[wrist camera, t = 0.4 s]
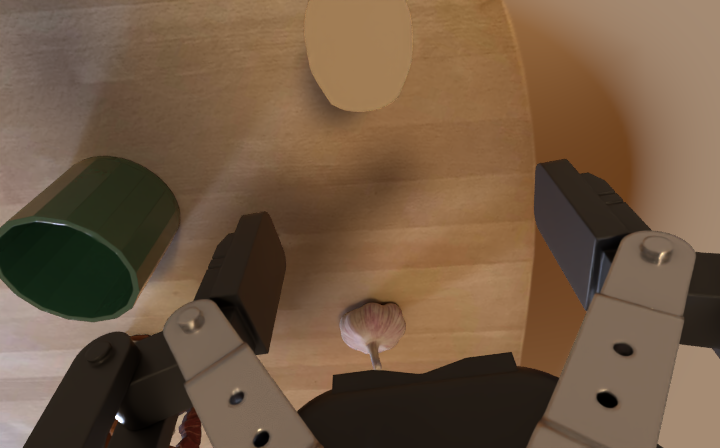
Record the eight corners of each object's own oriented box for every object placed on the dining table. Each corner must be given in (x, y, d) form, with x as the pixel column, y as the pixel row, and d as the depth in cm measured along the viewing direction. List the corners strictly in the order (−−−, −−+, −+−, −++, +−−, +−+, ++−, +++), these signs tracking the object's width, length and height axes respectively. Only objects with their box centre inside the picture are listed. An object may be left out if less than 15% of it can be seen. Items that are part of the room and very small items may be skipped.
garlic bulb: (409, 295, 49) (416, 352, 43) (397, 337, 53) (402, 395, 47) (343, 288, 49) (341, 345, 42) (337, 331, 53) (333, 389, 46)
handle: (333, 46, 34) (317, 116, 21) (320, -51, 30) (293, -33, 18) (394, 39, 33) (414, 107, 21) (389, -59, 30) (410, -46, 17)
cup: (50, 147, 39) (-33, 207, 30) (175, 165, 40) (128, 228, 32) (76, 242, 45) (13, 313, 37) (183, 256, 46) (145, 328, 38)
